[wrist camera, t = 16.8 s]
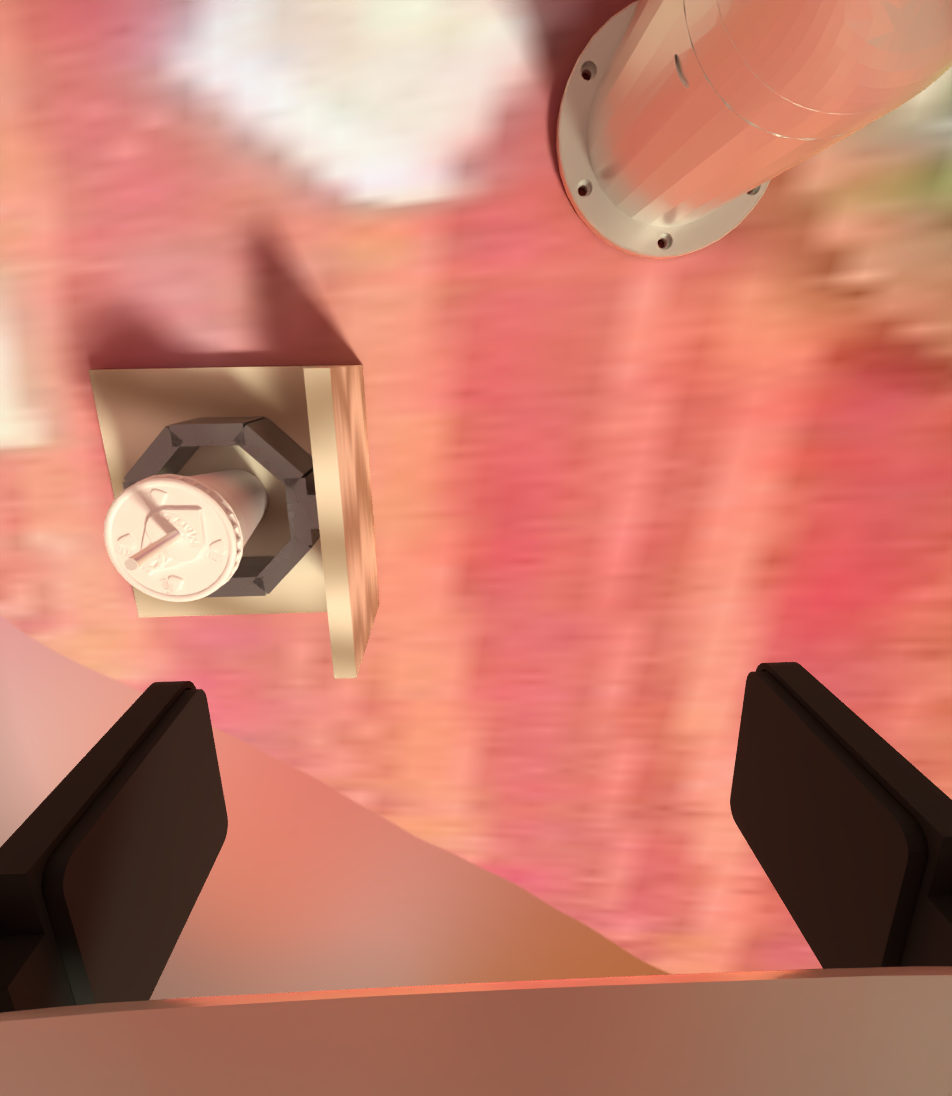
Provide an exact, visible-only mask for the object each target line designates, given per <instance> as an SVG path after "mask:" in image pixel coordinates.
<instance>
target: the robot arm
mask: <svg viewBox="0 0 952 1096" xmlns="http://www.w3.org/2000/svg"><path fill="white" fill-rule="evenodd" d="M951 66H952V0H637V1H635V2H632V3H631V4H629V5H628V6H626V7H625V8H623V9H622V10H621V11H619V12H618V13H616V14H615V15H613V16H612V17H611V18H610V19H609V20H608V21H607V22H606V23H605V24H604V25H603V26H602V27H601V28H600V29H599V30H598V31H597V32H596V33H595V34H594V35H593V36H592V38H591V39H590V41H589V42H588V44H587V45H586V47H585V48H584V50H583V51H582V53H581V54H580V56H579V57H578V59H577V61H576V64H575V66H574V68H573V70H572V72H571V74H570V77H569V79H568V82H567V84H566V87H565V90H564V93H563V96H562V99H561V104H560V109H559V115H558V120H557V135H556V151H557V158H558V165H559V172H560V176H561V179H562V182H563V185H564V188H565V191H566V194H567V196H568V198H569V200H570V202H571V204H572V205H573V207H574V209H575V211H576V213H577V215H578V216H579V217H580V218H581V220H582V221H583V222H584V223H585V224H586V226H587V227H588V228H589V229H590V230H591V231H592V232H593V233H594V234H595V235H596V236H598V237H599V238H600V239H601V240H603V241H604V242H605V243H606V244H608V245H610V246H612V247H614V248H616V249H618V250H620V251H622V252H624V253H626V254H630V255H634V256H638V257H642V258H652V259H667V258H673V257H679V256H684V255H687V254H690V253H692V252H695V251H698V250H700V249H703V248H705V247H707V246H709V245H710V244H712V243H714V242H716V241H718V240H720V239H721V238H722V237H724V236H725V235H726V234H728V233H729V232H730V231H732V230H733V229H734V228H736V227H737V226H738V225H739V224H740V223H741V222H742V221H743V219H744V218H745V217H746V216H747V215H748V214H749V213H750V212H751V211H752V210H753V209H754V207H755V206H756V204H757V203H758V201H759V200H760V199H761V197H762V196H763V194H764V192H765V191H766V189H767V187H768V185H769V182H770V180H771V179H772V178H774V177H776V176H777V175H779V174H781V173H783V172H785V171H786V170H788V169H790V168H792V167H793V166H795V165H797V164H799V163H801V162H802V161H804V160H806V159H808V158H810V157H811V156H813V155H815V154H817V153H818V152H820V151H822V150H824V149H826V148H827V147H829V146H831V145H833V144H835V143H836V142H838V141H840V140H842V139H843V138H845V137H847V136H849V135H851V134H852V133H854V132H856V131H858V130H860V129H861V128H863V127H865V126H867V125H868V124H870V123H872V122H873V121H875V120H876V119H878V118H880V117H882V116H883V115H885V114H887V113H889V112H890V111H892V110H894V109H896V108H897V107H899V106H901V105H902V104H904V103H905V102H907V101H908V100H910V99H911V98H913V97H914V96H916V95H917V94H919V93H920V92H921V91H923V90H924V89H926V88H927V87H928V86H929V85H931V84H932V83H933V82H934V81H936V80H937V79H938V78H939V77H940V76H941V75H942V74H943V73H945V72H946V71H947V70H948V69H949V68H950V67H951ZM583 73H587V74H588V75H589V77H590V80H589V81H588V80H585V79H583V77H582V74H583ZM581 187H582V188H584V189H585V191H586V194H585V196H580V195H579V193H578V188H581ZM747 192H749V193H748V194H747ZM658 240H663V242H664V247H663V248H660V247H659V246H658ZM730 805H731V811H732V815H733V818H734V820H735V822H736V824H737V826H738V828H739V829H740V831H741V833H742V834H743V836H744V838H745V839H746V841H747V843H748V844H749V846H750V848H751V849H752V851H753V853H754V854H755V856H756V858H757V859H758V861H759V863H760V864H761V866H762V868H763V869H764V871H765V873H766V874H767V876H768V878H769V879H770V881H771V882H772V884H773V886H774V887H775V889H776V891H777V892H778V894H779V896H780V897H781V899H782V901H783V902H784V904H785V906H786V907H787V909H788V911H789V912H790V914H791V916H792V917H793V919H794V921H795V922H796V924H797V926H798V927H799V929H800V931H801V932H802V934H803V936H804V937H805V939H806V941H807V942H808V944H809V946H810V947H811V949H812V951H813V952H814V954H815V956H816V957H817V959H818V961H819V962H820V964H821V966H822V967H823V969H802V970H777V971H751V972H726V973H700V974H675V975H650V976H626V977H625V976H624V977H602V978H579V979H557V980H534V981H512V982H490V983H469V984H448V985H427V986H406V987H385V988H365V989H345V990H326V991H307V992H288V993H270V994H269V993H268V994H249V995H231V996H212V997H211V996H210V997H193V998H192V997H191V998H176V999H162V1000H149V999H150V997H151V995H152V993H153V991H154V988H155V986H156V985H157V982H158V980H159V978H160V976H161V974H162V971H163V970H164V968H165V966H166V963H167V961H168V959H169V957H170V955H171V953H172V951H173V949H174V946H175V944H176V942H177V940H178V938H179V936H180V934H181V932H182V930H183V928H184V925H185V923H186V921H187V919H188V917H189V915H190V913H191V911H192V908H193V906H194V904H195V902H196V900H197V898H198V896H199V894H200V892H201V890H202V887H203V885H204V883H205V881H206V879H207V877H208V875H209V873H210V871H211V869H212V867H213V864H214V862H215V860H216V858H217V856H218V854H219V852H220V850H221V847H222V845H223V843H224V841H225V838H226V834H227V827H228V819H227V812H226V806H225V800H224V796H223V790H222V784H221V777H220V772H219V766H218V760H217V755H216V749H215V743H214V738H213V732H212V726H211V720H210V714H209V709H208V703H207V698H206V694H205V692H204V691H203V690H202V689H196V687H195V686H194V684H193V683H192V682H190V681H177V682H155V683H153V684H152V685H150V686H149V687H148V688H147V690H146V691H145V692H144V693H143V694H142V695H141V696H140V697H139V698H138V699H137V700H136V701H135V703H134V704H133V705H132V706H131V707H130V708H129V709H128V710H127V711H126V712H125V713H124V714H123V716H122V717H121V718H120V719H119V720H118V721H117V722H116V723H115V724H114V725H113V726H112V728H110V730H109V731H108V732H107V733H106V734H105V735H104V736H103V737H102V738H101V739H100V740H99V742H98V743H97V744H96V745H95V746H94V747H93V748H92V749H91V750H90V751H89V752H88V753H87V754H86V756H85V757H84V758H83V759H82V760H81V761H80V762H79V763H78V764H77V765H76V766H75V767H74V769H73V770H72V771H71V772H70V773H69V774H68V775H67V776H66V777H65V778H64V779H63V780H62V781H61V783H60V784H59V785H58V786H57V787H56V788H55V789H54V790H53V791H52V792H51V793H50V795H49V796H48V797H47V798H46V799H45V800H44V801H43V802H42V803H41V804H40V805H39V806H38V808H37V809H36V810H35V811H34V812H33V813H32V814H31V815H30V816H29V817H28V818H27V819H26V820H25V822H24V823H23V824H22V825H21V826H20V827H19V828H18V829H17V830H16V831H15V832H14V833H13V834H12V836H11V837H10V838H9V839H8V840H7V841H6V842H5V843H4V844H3V845H2V846H1V848H0V1096H952V800H951V799H950V798H949V797H948V796H947V795H946V794H944V793H943V792H942V791H941V790H940V789H939V788H938V787H937V786H935V785H934V784H933V783H932V782H931V781H930V780H929V779H928V778H926V777H925V776H924V775H923V774H922V773H921V772H920V771H919V770H918V769H916V768H915V767H914V766H913V765H912V764H911V763H910V762H909V761H907V760H906V759H905V758H904V757H903V756H902V755H901V754H900V753H898V752H897V751H896V750H895V749H894V748H893V747H892V746H891V745H890V744H888V743H887V742H886V741H885V740H884V739H883V738H882V737H881V736H879V735H878V734H877V733H876V732H875V731H874V730H873V729H872V728H870V727H869V726H868V725H867V724H866V723H865V722H864V721H863V720H862V719H860V718H859V717H858V716H857V715H856V714H855V713H854V712H853V711H851V710H850V709H849V708H848V707H847V706H846V705H845V704H844V703H842V702H841V701H840V700H839V699H838V698H837V697H836V696H835V695H834V694H832V693H831V692H830V691H829V690H828V689H827V688H826V687H825V686H823V685H822V684H821V683H820V682H819V681H818V680H817V679H816V678H815V677H813V676H812V675H811V674H810V673H809V672H808V671H807V670H806V669H804V668H803V667H802V666H801V665H800V664H798V663H796V662H780V663H761V664H760V665H759V666H758V667H757V669H756V672H750V673H749V675H748V676H747V680H746V687H745V694H744V702H743V709H742V716H741V724H740V731H739V738H738V746H737V753H736V761H735V768H734V775H733V783H732V790H731V797H730Z"/></svg>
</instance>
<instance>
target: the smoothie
mask: <svg viewBox="0 0 952 1096" xmlns="http://www.w3.org/2000/svg"><path fill="white" fill-rule="evenodd" d="M267 506H268V495H267V492H266V489H265V487H264V485H263V484H262V482H261V481H260V480H259V479H258V478H257V477H256V476H254V475H253V474H251V473H249V472H247V471H244V470H239V469H232V470H226V471H219V472H213V473H206V474H200V475H194V476H182V475H175V474H163V475H154V476H150V477H148V478H145V479H143V480H141V481H138V482H136V483H135V484H133V485H131V486H130V487H128V488H126V489H125V490H124V491H123V492H121V493H120V494H119V495H118V496H117V497H116V499H115V500H114V501H113V503H112V504H111V506H110V508H109V510H108V512H107V515H106V518H105V523H104V540H105V545H106V549H107V552H108V554H109V557H110V559H111V561H112V563H113V565H114V566H115V568H116V569H117V570H118V572H119V573H120V574H121V575H122V576H123V577H124V578H125V580H127V581H128V582H129V583H130V584H131V585H132V586H134V587H135V588H137V589H138V590H140V591H141V592H143V593H145V594H147V595H149V596H152V597H154V598H157V599H161V600H165V601H172V602H187V601H193V600H198V599H201V598H203V597H206V596H208V595H210V594H211V593H213V592H214V591H216V590H217V589H218V588H220V587H221V586H222V585H224V584H225V583H226V582H228V581H229V580H230V578H231V577H232V576H233V574H234V573H235V571H236V570H237V569H238V566H239V563H240V560H241V557H242V555H243V547H244V546H245V544H246V543H247V541H248V539H249V538H250V536H251V535H252V533H253V531H254V530H255V528H256V527H257V525H258V523H259V522H260V520H261V519H262V517H263V515H264V514H265V512H266V510H267Z"/></svg>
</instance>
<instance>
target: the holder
mask: <svg viewBox="0 0 952 1096" xmlns="http://www.w3.org/2000/svg"><path fill="white" fill-rule="evenodd" d="M88 371H89V375H90V380H91V385H92V390H93V395H94V400H95V405H96V410H97V415H98V420H99V424H100V429H101V434H102V439H103V444H104V449H105V454H106V459H107V464H108V469H109V474H110V478H111V483H112V488H113V493H114V498H115V499H116V497H117V496H118V495H119V494H120V493H121V492H123V491H124V490H125V489H126V488H128V487H130V486H131V485H133V484H135V483H136V482H138V481H141V480H143V479H145V478H148V477H150V476H154V475H163V474H175V475H182V476H194V475H200V474H206V473H213V472H219V471H226V470H232V469H239V470H244V471H247V472H249V473H251V474H253V475H254V476H256V477H257V478H258V479H259V480H260V481H261V482H262V484H263V485H264V487H265V489H266V492H267V495H268V506H267V510H266V512H265V514H264V515H263V517H262V519H261V520H260V522H259V523H258V525H257V527H256V528H255V530H254V531H253V533H252V535H251V536H250V538H249V539H248V541H247V543H246V544H245V546H244V547H243V555H242V557H241V560H240V563H239V566H238V569H237V570H236V571H235V573H234V574H233V576H232V577H231V578H230V580H229V581H228V582H226V583H225V584H224V585H222V586H221V587H220V588H218V589H217V590H216V591H214V592H213V593H211V594H210V595H208V596H206V597H203V598H201V599H198V600H193V601H187V602H172V601H165V600H161V599H157V598H154V597H152V596H149V595H147V594H145V593H143V592H141V591H140V590H138V589H137V588H135V587H134V586H133V591H134V596H135V601H136V606H137V611H138V616H139V617H170V616H205V615H240V614H275V613H310V612H328V621H329V631H330V641H331V651H332V661H333V671H334V679H337V678H357V675H358V672H359V668H360V665H361V662H362V659H363V655H364V652H365V649H366V646H367V642H368V639H369V636H370V632H371V629H372V626H373V623H374V619H375V616H376V613H377V609H378V606H379V593H378V579H377V565H376V551H375V536H374V522H373V508H372V494H371V480H370V466H369V452H368V437H367V423H366V409H365V395H364V381H363V367H362V365H324V366H267V367H210V368H153V369H98V370H88Z"/></svg>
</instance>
